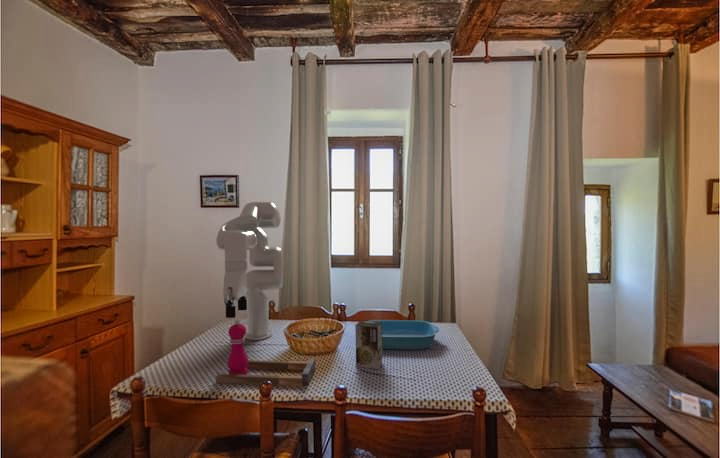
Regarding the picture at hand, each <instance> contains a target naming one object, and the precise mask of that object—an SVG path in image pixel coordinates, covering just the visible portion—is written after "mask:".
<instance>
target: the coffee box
mask: <svg viewBox="0 0 720 458" xmlns="http://www.w3.org/2000/svg"><path fill="white" fill-rule="evenodd" d="M354 327H355V366H356V367H358V366H360V367H361V368H366V369H373V370H379V369H380V367H381V366H382V364H383V349H382V322H374V321H369V320H360V321H358V322H357V323H356V324H355V326H354Z"/></svg>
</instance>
